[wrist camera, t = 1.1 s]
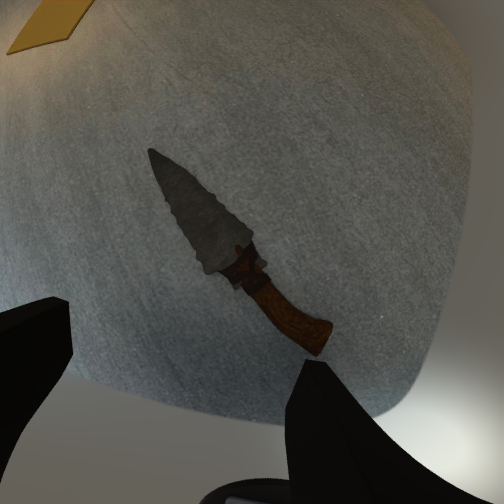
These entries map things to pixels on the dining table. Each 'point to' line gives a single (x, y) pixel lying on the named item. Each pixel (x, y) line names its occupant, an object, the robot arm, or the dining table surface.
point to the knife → (232, 251)
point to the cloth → (50, 23)
